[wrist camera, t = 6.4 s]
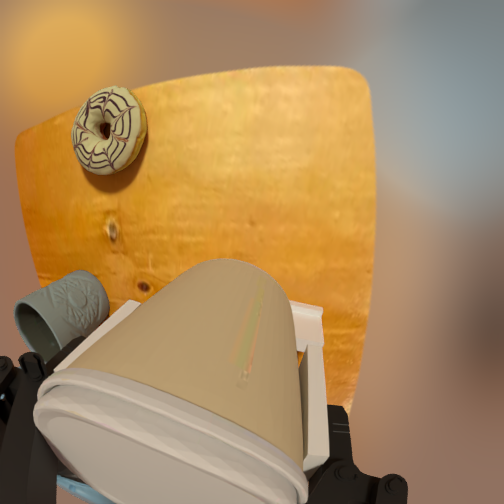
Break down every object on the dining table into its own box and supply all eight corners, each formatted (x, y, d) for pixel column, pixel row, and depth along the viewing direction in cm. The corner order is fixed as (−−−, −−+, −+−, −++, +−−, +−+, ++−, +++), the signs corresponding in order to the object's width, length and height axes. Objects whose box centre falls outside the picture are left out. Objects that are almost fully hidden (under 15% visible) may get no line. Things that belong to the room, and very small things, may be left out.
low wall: (315, 328, 32) (317, 360, 26) (185, 297, 33) (165, 322, 28) (322, 307, 31) (326, 337, 25) (187, 275, 32) (166, 298, 27)
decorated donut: (101, 84, 27) (83, 79, 23) (166, 100, 27) (150, 93, 23) (77, 158, 30) (57, 160, 27) (136, 184, 30) (117, 187, 27)
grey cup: (109, 271, 34) (49, 312, 23) (119, 333, 38) (73, 381, 26) (61, 261, 36) (5, 292, 24) (72, 318, 39) (26, 355, 28)
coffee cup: (207, 386, 19) (149, 526, 8) (134, 280, 17) (-2, 397, 6) (329, 349, 16) (343, 534, 5) (262, 214, 15) (159, 372, 3)
